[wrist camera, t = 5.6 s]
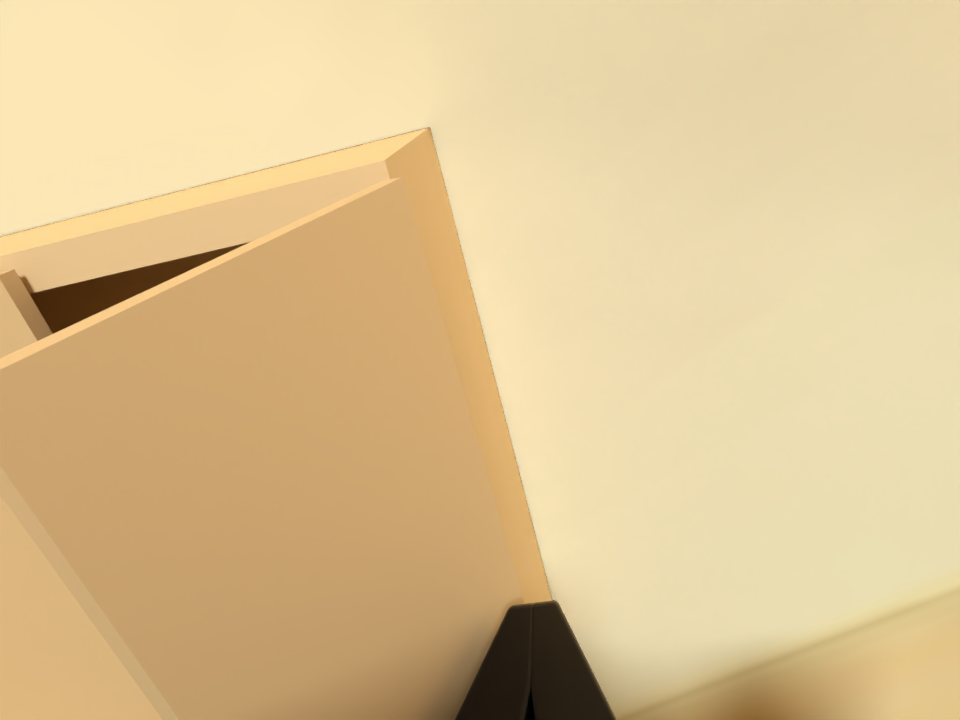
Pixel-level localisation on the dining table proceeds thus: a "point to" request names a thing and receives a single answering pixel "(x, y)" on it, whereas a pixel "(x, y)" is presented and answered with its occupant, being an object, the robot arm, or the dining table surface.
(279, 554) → the flap
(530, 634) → the robot arm
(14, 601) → the carton
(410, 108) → the dining table surface
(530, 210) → the dining table surface
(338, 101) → the dining table surface
